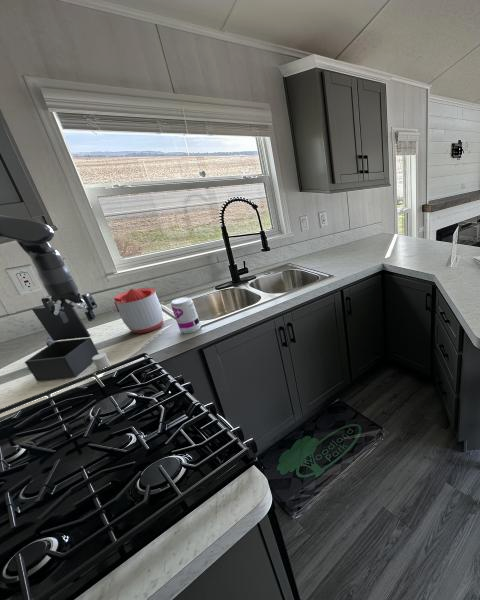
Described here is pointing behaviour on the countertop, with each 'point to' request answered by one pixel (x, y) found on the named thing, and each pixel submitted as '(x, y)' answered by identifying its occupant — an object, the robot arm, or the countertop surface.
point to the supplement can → (185, 315)
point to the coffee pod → (101, 361)
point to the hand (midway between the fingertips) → (79, 321)
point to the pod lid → (59, 330)
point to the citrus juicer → (139, 309)
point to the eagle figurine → (49, 341)
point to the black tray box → (62, 359)
